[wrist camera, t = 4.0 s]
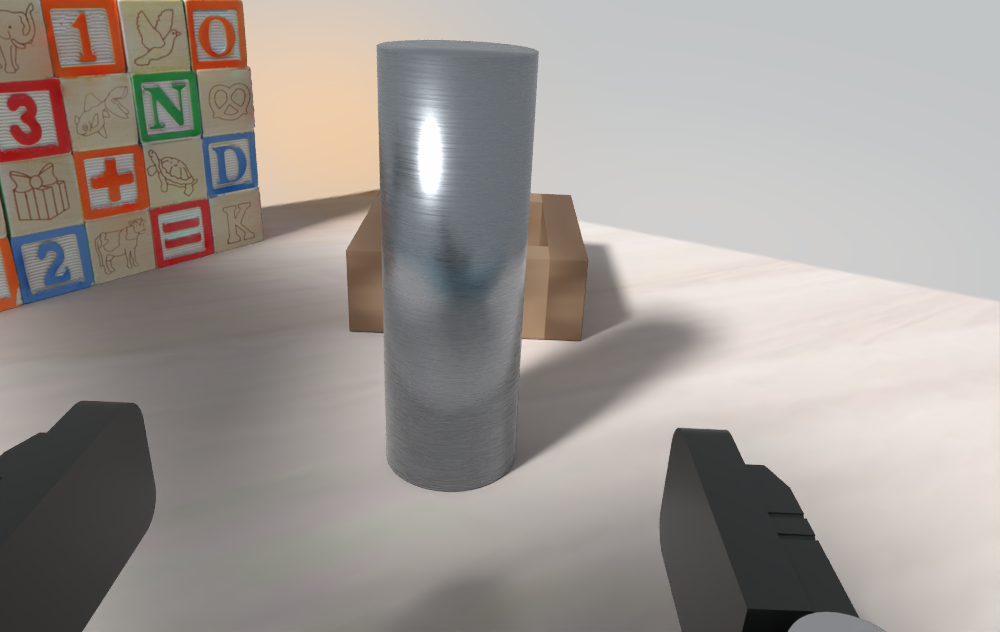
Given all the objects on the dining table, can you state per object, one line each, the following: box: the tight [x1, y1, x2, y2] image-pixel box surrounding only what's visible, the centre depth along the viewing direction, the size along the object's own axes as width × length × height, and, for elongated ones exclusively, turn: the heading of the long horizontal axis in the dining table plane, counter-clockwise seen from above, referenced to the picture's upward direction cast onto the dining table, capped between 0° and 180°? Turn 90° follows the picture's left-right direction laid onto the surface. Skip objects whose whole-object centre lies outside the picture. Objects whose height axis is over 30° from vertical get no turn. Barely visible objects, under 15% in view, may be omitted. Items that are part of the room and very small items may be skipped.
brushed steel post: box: [377, 40, 539, 491], centre depth 22 cm, size 4×4×12 cm
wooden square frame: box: [346, 193, 588, 341], centre depth 35 cm, size 10×10×4 cm
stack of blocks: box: [0, 0, 263, 311], centre depth 33 cm, size 21×6×12 cm, turn 142°
